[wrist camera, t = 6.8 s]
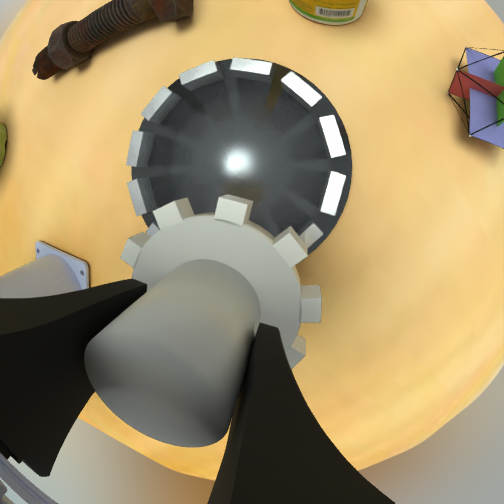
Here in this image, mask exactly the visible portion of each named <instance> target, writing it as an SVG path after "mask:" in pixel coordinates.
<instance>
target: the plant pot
mask: <svg viewBox="0 0 504 504" xmlns="http://www.w3.org/2000/svg"><path fill="white" fill-rule="evenodd" d="M6 140H7V132H6V128H5V125H4V124H3V123H0V167H1V165H2V162H3V159H4V156H5V142H6Z"/></svg>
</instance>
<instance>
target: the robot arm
mask: <svg viewBox="0 0 504 504" xmlns="http://www.w3.org/2000/svg"><path fill="white" fill-rule="evenodd" d="M146 292H147V284H146V283H143V282H141V281H138V280H135V279H127V280H122V281H117V282H113V283H108V284H104V285H100V286H96V287H91V288H89V273H88V264H87V263H86V262H85V261H83V260H81V259H78V258H76V257H74V256H71V255H69V254H67V253H65V252H63V251H60V250H58V249H56V248H54V247H52V246H50V245H48V244H46V243H43V242H41V241H37V242H36V260H34V261H32V262H30V263H27V264H25V265H23V266H21V267H19V268H17V269H15V270H12V271H10V272H8V273H6V274H4V275H2V276H0V477H1V478H2V479H3V480H4V481H5V482H6V483H7V484H8V485H9V486H10V487H11V488H12V489H13V490H14V491H15V492H16V493H17V494H18V495H19V496H20V497H21V498H22V499H24V500H25V501H26V502H27V503H28V504H58V503H56V502H55V501H54V500H52V499H51V498H50V497H48V496H47V495H46V494H45V493H43V492H42V491H41V490H40V489H38V488H37V487H36V486H35V485H34V484H32V483H31V482H30V481H29V480H28V479H27V478H25V477H24V476H23V475H22V474H21V473H20V472H19V471H18V470H17V469H16V468H15V467H14V466H13V465H12V464H10V462H9V461H8V460H7V459H8V458H9V457H10V456H11V457H12V458H13V459H15V460H16V461H17V462H18V463H21V462H22V461H23V462H24V463H25V464H26V465H27V466H28V467H30V468H31V469H32V470H33V471H34V472H35V473H36V474H38V475H39V476H42V477H47V476H49V475H50V472H51V470H52V467H53V465H54V462H55V460H56V458H57V455H58V453H59V451H60V448H61V447H62V445H63V443H64V441H65V439H66V437H67V435H68V433H69V431H70V429H71V428H72V426H73V424H74V422H75V420H76V419H77V417H78V416H79V414H80V412H81V411H82V409H83V408H84V406H85V405H86V403H87V402H88V400H89V399H90V397H91V396H92V395H93V393H94V392H95V390H94V388H93V386H92V384H91V382H90V380H89V378H88V375H87V372H86V368H85V363H84V354H85V349H86V347H87V345H88V343H89V342H90V341H91V340H92V339H93V338H94V337H95V336H96V335H97V334H98V333H99V332H101V331H102V330H103V329H104V328H105V327H106V326H107V325H109V324H110V323H111V322H112V321H113V320H114V319H115V318H117V317H118V316H119V315H120V314H121V313H122V312H124V311H125V310H126V309H127V308H128V307H129V306H131V305H132V304H133V303H134V302H135V301H136V300H138V299H139V298H140V297H141V296H142V295H144V294H145V293H146ZM6 492H7V488H6V486H5V485H4V484H3V483H2V482H1V480H0V504H14V503H13V502H12V501H11V500H10V499H9V498H7V497H6V496H5V495H4V494H5V493H6ZM208 504H395V502H393V501H392V500H391V499H389V498H388V497H387V496H386V495H384V494H383V493H382V492H381V491H379V490H378V489H377V488H376V487H375V486H373V485H372V484H371V483H370V482H369V481H367V480H366V479H365V478H364V477H363V476H362V475H361V474H360V473H359V472H358V471H357V470H356V469H355V468H354V467H353V466H352V465H351V464H350V463H349V462H348V461H347V460H346V458H345V457H344V456H343V455H342V454H341V453H340V451H339V450H338V449H337V448H336V446H335V445H334V444H333V443H332V441H331V440H330V439H329V437H328V436H327V435H326V434H325V432H324V431H323V429H322V428H321V426H320V425H319V423H318V422H317V420H316V419H315V417H314V415H313V413H312V412H311V410H310V408H309V407H308V405H307V403H306V401H305V399H304V397H303V395H302V393H301V391H300V389H299V387H298V385H297V382H296V380H295V378H294V375H293V373H292V370H291V367H290V365H289V362H288V359H287V356H286V353H285V350H284V347H283V343H282V339H281V335H280V331H279V329H278V327H274V326H271V325H267V324H264V323H259V326H258V329H257V332H256V335H255V338H254V342H253V345H252V348H251V352H250V355H249V360H248V364H247V368H246V372H245V376H244V379H243V382H242V386H241V389H240V393H239V396H238V399H237V403H236V406H235V409H234V412H233V416H232V421H231V426H230V431H229V436H228V441H227V445H226V449H225V453H224V456H223V459H222V463H221V466H220V469H219V472H218V475H217V478H216V481H215V483H214V486H213V489H212V492H211V495H210V498H209V501H208Z"/></svg>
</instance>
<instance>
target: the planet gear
mask: <svg viewBox="0 0 504 504" xmlns="http://www.w3.org/2000/svg"><path fill="white" fill-rule="evenodd" d="M252 205H253V201H251V200H248V199H244V198H240V197H236V196H233V195H229V194H227V195H224V196H221V197H219V199H218V203H217V207H216V212H210V213H200V214H196V215H194V212H193V210H192V207H191V205H190V202H189V200H188V198H183V199H179V200H176V201H173V202H171V203H169V204H167V205H165V206H163V207H161V208H159V209H157V210H155V211H153V213H154V216H155V218H156V221H157V223H158V226H159V228H160V230H159V231H158V232H157V233H155V234H154V235H153V236H152V237H150V236H148V235H147V234H146V233H144V232H141V233H139V234H137V235H135V236H132V237H130V238H128V240H127V242H126V245H125V247H124V250H123V252H122V255H121V259H122V260H124V261H125V262H126V263H127V264H129V265H130V266H131V267H133V273H132V279H135V280H138V281H141V282H143V283H146V284H147V292H146V293H145V294H144V295H142V296H141V297H140V298H139V299H138V300H136V301H135V302H134V303H133V304H132V305H131V306H129V307H128V308H127V309H126V310H125V311H124V312H122V313H121V314H120V315H119V316H118V317H117V318H115V319H114V320H113V321H112V322H111V323H110V324H109V325H107V326H106V327H105V328H104V329H103V330H102V331H101V332H99V333H98V334H97V335H96V336H95V337H94V338H93V339H92V340H91V341H90V342H89V343H88V345H87V347H86V349H85V354H84V363H85V368H86V372H87V375H88V378H89V380H90V382H91V384H92V386H93V388H94V390H95V391H96V393H97V394H98V396H99V397H100V398H101V400H102V401H103V402H104V403H105V404H106V406H107V407H108V408H109V409H110V410H111V411H112V412H113V413H114V414H116V415H117V416H118V417H119V418H120V419H121V420H123V421H124V422H125V423H127V424H128V425H129V426H131V427H132V428H134V429H136V430H137V431H139V432H141V433H143V434H145V435H147V436H149V437H151V438H153V439H156V440H158V441H161V442H164V443H167V444H171V445H175V446H181V447H203V446H208V445H211V444H214V443H216V442H218V441H219V440H221V439H222V438H223V437H224V436H225V435H226V433H227V431H228V429H229V425H230V422H231V419H232V416H233V412H234V409H235V406H236V403H237V399H238V396H239V393H240V389H241V386H242V382H243V379H244V376H245V372H246V368H247V364H248V360H249V355H250V352H251V348H252V345H253V342H254V338H255V335H256V332H257V329H258V326H259V323H264V324H267V325H271V326H274V327H278V329H279V331H280V335H281V339H282V343H283V347H284V350H285V353H286V356H287V359H288V362H289V365H290V367H291V369H292V368H293V367H294V366H295V365H296V364H297V363H298V362H299V361H300V360H301V359H302V358H303V357H304V356H305V338H303V337H301V336H300V335H298V331H299V327H300V323H315V322H321V303H322V297H321V291H320V285H301V283H300V278H299V275H298V272H297V269H296V267H295V265H296V264H297V263H299V262H300V261H302V260H303V259H304V258H306V257H307V256H308V253H307V246H306V245H305V244H304V242H303V241H302V240H301V238H300V237H299V236H298V235H297V233H296V232H295V231H294V229H293V228H292V227H291V226H290V227H288V228H287V229H286V230H284V231H283V232H282V233H280V234H279V235H278V236H276V237H274V236H273V235H272V234H270V233H269V232H268V231H267V230H265V229H264V228H262V227H261V226H259V225H258V224H256V223H254V222H252V221H250V220H249V216H250V212H251V208H252Z"/></svg>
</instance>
